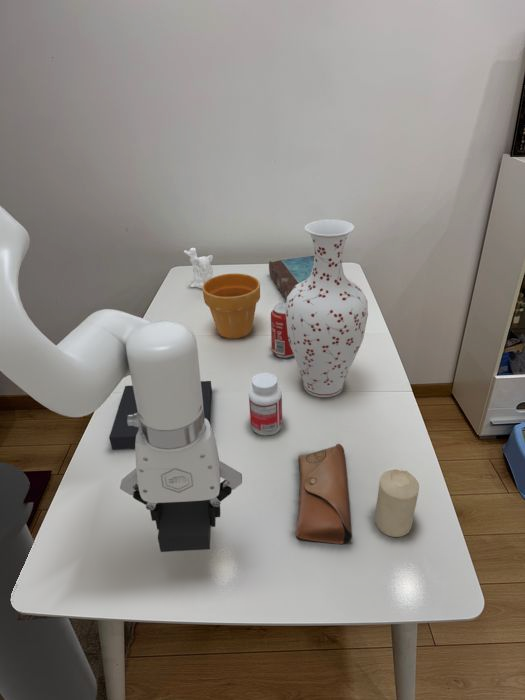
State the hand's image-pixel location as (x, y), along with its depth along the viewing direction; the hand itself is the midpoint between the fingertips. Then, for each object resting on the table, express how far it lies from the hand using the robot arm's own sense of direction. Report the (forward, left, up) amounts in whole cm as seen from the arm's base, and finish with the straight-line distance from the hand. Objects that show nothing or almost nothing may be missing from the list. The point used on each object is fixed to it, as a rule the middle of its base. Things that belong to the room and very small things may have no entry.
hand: (187, 519), depth 67 cm
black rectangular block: (0, +2, -1) cm, 2 cm away
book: (+28, +89, -8) cm, 94 cm away
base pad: (-8, +31, -7) cm, 33 cm away
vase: (+25, +39, -8) cm, 47 cm away
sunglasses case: (+20, +9, -8) cm, 24 cm away
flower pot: (+6, +65, -8) cm, 66 cm away
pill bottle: (+12, +27, -8) cm, 31 cm away
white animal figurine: (-4, +94, -8) cm, 94 cm away
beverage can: (+18, +53, -8) cm, 56 cm away
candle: (+30, +3, -8) cm, 32 cm away
